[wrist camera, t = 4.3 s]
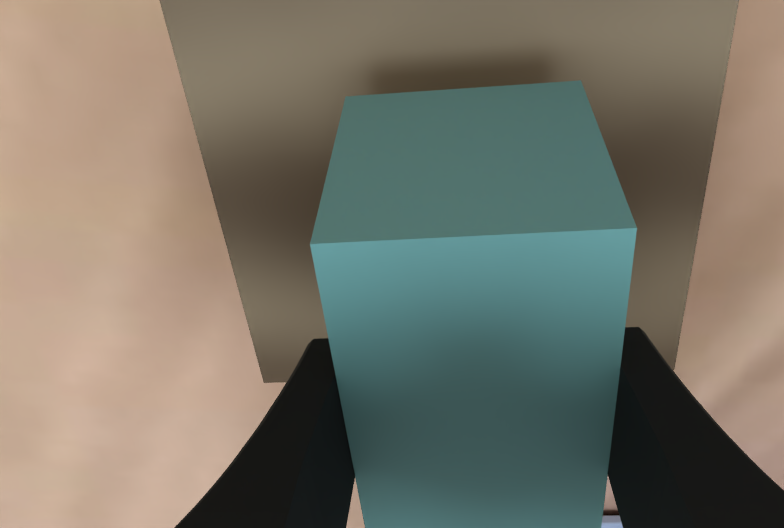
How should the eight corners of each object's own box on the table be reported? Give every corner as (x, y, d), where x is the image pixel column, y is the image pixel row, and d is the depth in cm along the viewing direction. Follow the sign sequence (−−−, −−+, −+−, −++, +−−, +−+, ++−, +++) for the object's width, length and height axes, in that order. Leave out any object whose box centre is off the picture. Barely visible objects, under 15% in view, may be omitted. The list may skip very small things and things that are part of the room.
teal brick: (563, 380, 19) (596, 562, 15) (386, 386, 19) (372, 564, 15) (581, 80, 14) (637, 227, 10) (345, 96, 15) (309, 244, 11)
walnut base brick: (650, 303, 24) (673, 369, 21) (280, 318, 25) (264, 382, 23) (708, -111, 17) (753, -82, 14) (190, -64, 18) (151, -29, 16)
